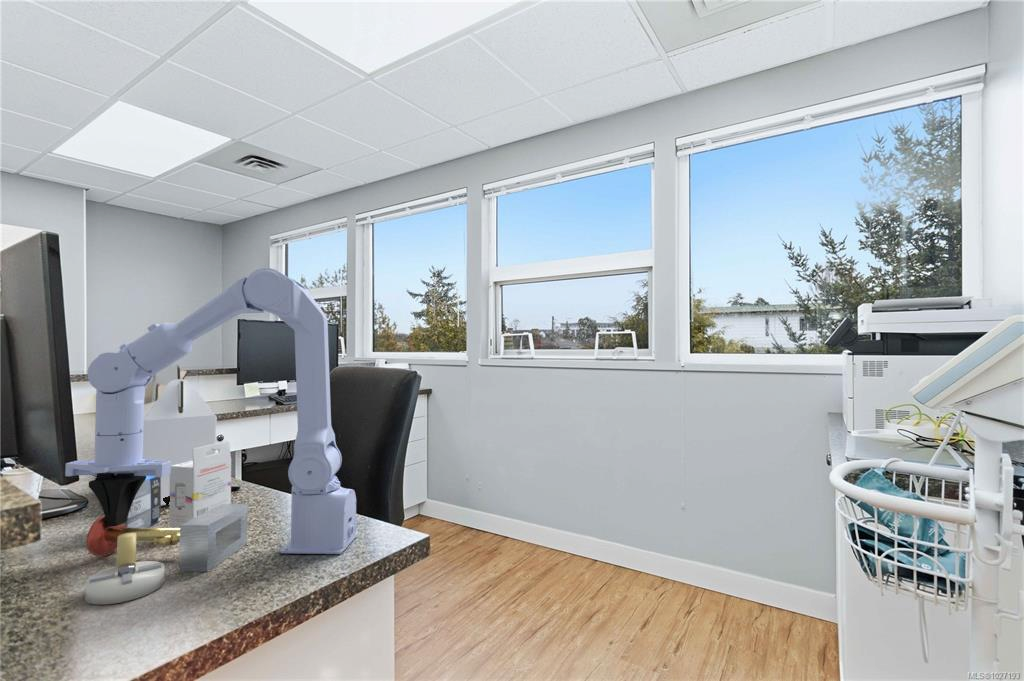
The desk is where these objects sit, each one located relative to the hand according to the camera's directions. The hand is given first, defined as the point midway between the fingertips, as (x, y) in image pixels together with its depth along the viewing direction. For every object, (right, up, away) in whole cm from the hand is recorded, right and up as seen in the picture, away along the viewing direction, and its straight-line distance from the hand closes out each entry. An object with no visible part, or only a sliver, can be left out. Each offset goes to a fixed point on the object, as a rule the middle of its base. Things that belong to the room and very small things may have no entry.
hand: (117, 524), depth 74 cm
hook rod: (+4, -4, 0) cm, 6 cm away
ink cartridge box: (+5, -5, +12) cm, 14 cm away
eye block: (+15, -5, 0) cm, 16 cm away
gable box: (-17, -6, +34) cm, 39 cm away
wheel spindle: (+10, -2, -11) cm, 15 cm away
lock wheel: (+10, -4, -11) cm, 15 cm away
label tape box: (-6, -5, +11) cm, 14 cm away
